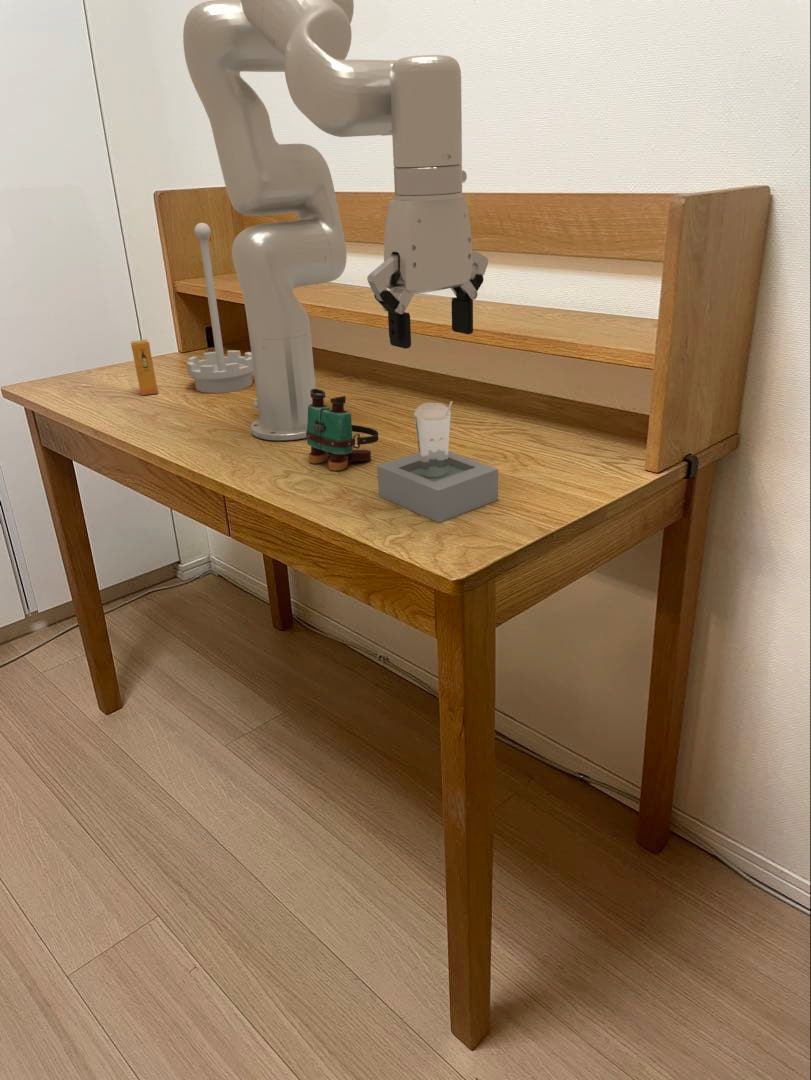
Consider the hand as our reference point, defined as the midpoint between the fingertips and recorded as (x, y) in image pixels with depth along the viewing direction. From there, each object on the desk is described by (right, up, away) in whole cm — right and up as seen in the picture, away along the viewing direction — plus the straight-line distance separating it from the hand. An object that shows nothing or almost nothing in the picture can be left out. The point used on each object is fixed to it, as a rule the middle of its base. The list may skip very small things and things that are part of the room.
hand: (432, 339), depth 101 cm
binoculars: (-12, -12, +23) cm, 29 cm away
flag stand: (-39, +6, +65) cm, 76 cm away
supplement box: (-53, +4, +62) cm, 81 cm away
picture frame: (+1, -19, +8) cm, 20 cm away
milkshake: (+1, -16, +7) cm, 17 cm away
